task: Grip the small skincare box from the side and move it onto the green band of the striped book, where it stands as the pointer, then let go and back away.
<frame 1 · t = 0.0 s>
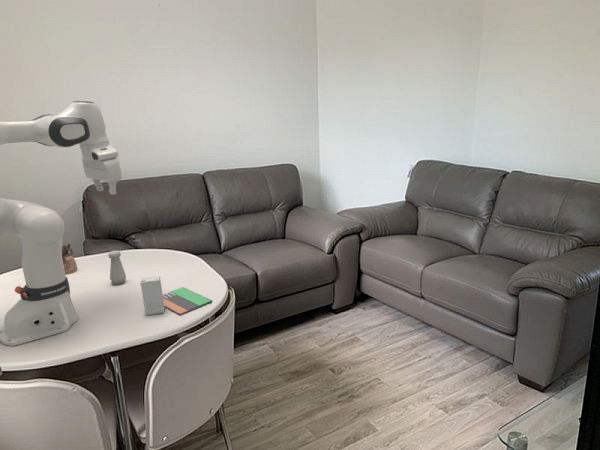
hand: (106, 192, 150), 39 cm above the table, tool pointing down, fingers open, 8 cm apart
salt shaker: (118, 283, 175), on the table
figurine: (68, 271, 189), on the table
skincare box: (155, 312, 150), on the table
striped book: (181, 301, 157), on the table
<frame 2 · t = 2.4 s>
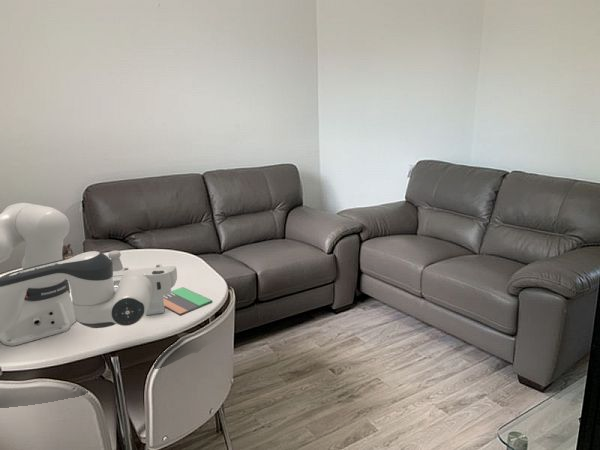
hand: (142, 268, 133), 20 cm above the table, tool horizontal, fingers open, 8 cm apart
nothing on the table moved.
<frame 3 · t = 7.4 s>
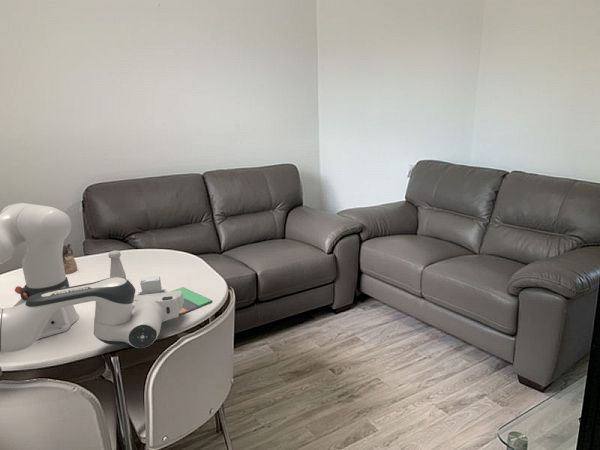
hand: (152, 292, 149), 7 cm above the table, tool horizontal, fingers closed on skincare box, 6 cm apart
skincare box: (155, 312, 150), on the table, touching gripper
everything else where it was.
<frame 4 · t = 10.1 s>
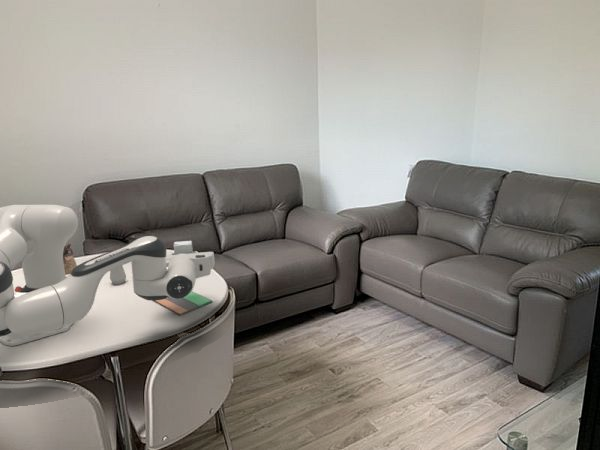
hand: (184, 254, 155), 17 cm above the table, tool horizontal, fingers closed on skincare box, 6 cm apart
skincare box: (185, 276, 156), point 9 cm above the table, touching gripper
everything else where it was.
when the fingers open (9 cm above the table, at t = 13.1 s): skincare box stays where it is, resting on striped book.
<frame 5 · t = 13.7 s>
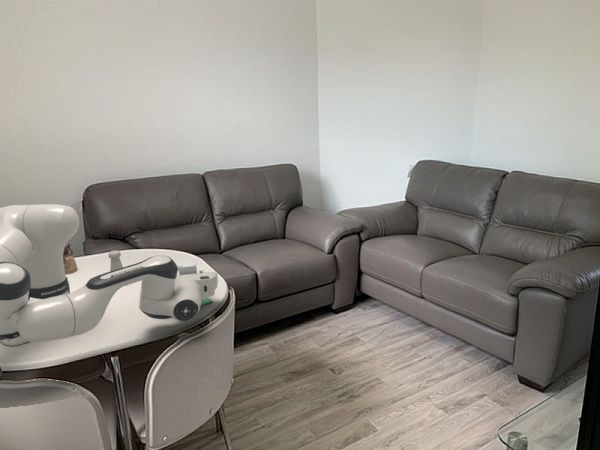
hand: (188, 273, 158), 9 cm above the table, tool horizontal, fingers open, 8 cm apart
skincare box: (190, 296, 159), point 1 cm above the table, touching striped book
everything else where it was.
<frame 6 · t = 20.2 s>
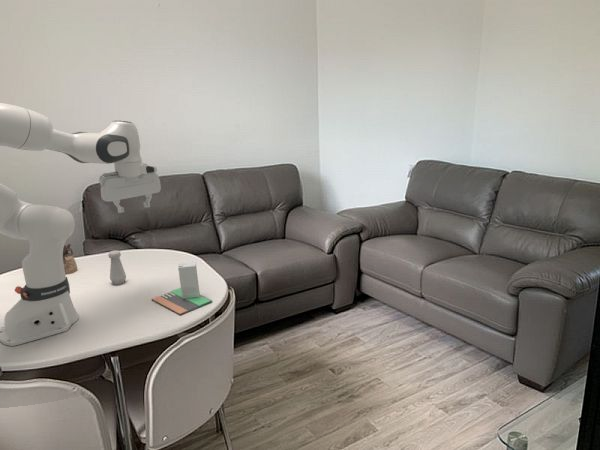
hand: (134, 209, 155), 32 cm above the table, tool pointing down, fingers open, 8 cm apart
nothing on the table moved.
at the end: skincare box inside the target area (0.3 cm from its centre), point 0.6 cm above the table; skincare box tilted 0°; the gripper is holding nothing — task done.
